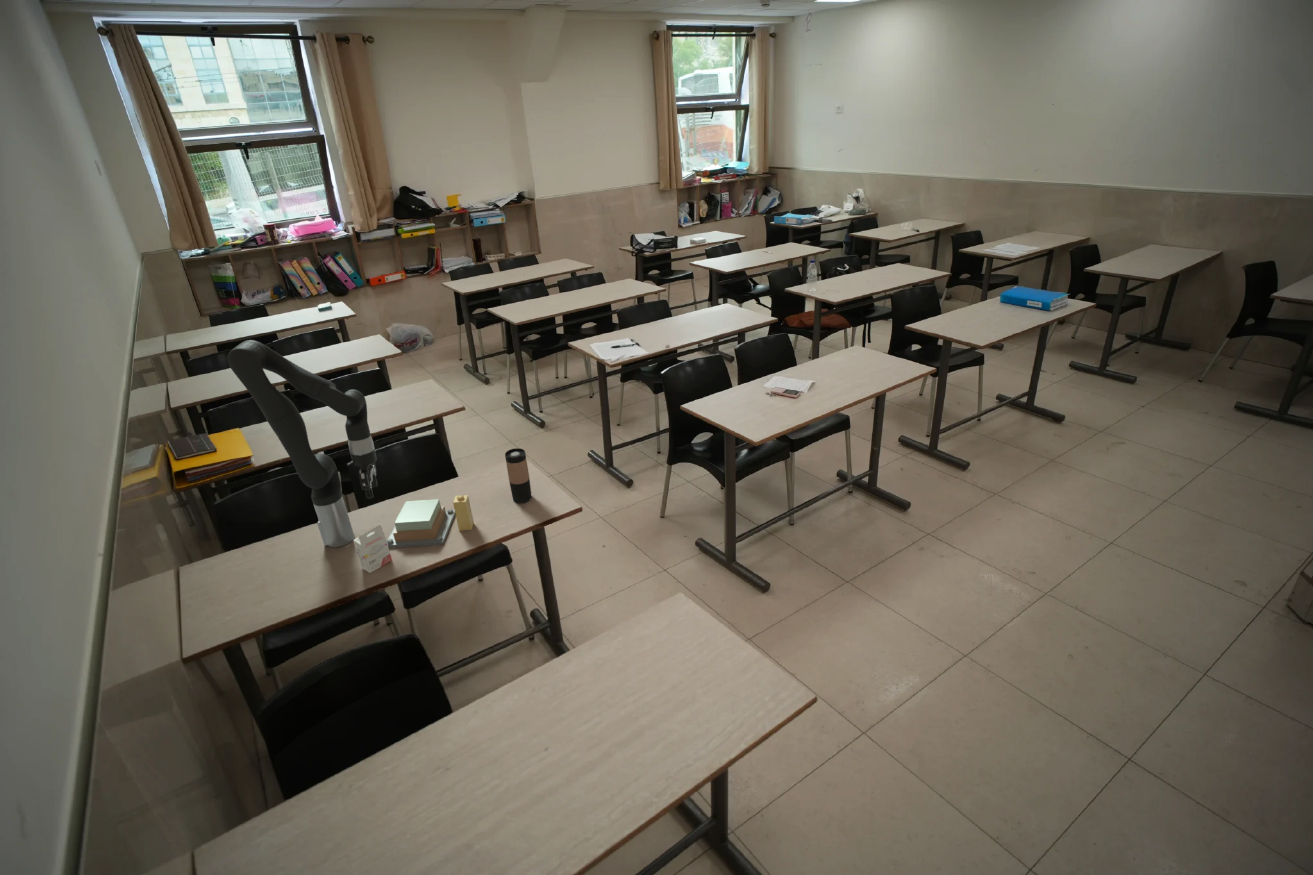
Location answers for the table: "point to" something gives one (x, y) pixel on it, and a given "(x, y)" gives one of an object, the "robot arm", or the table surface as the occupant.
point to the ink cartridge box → (372, 549)
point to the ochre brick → (463, 512)
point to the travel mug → (518, 475)
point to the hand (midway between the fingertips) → (372, 492)
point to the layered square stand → (421, 524)
